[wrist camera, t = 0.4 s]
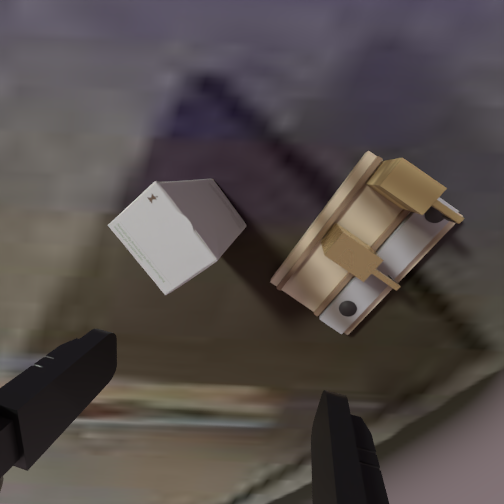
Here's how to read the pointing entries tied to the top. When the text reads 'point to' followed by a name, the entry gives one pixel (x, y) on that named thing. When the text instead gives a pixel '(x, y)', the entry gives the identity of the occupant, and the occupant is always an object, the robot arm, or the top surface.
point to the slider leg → (354, 255)
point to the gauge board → (367, 238)
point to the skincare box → (178, 229)
